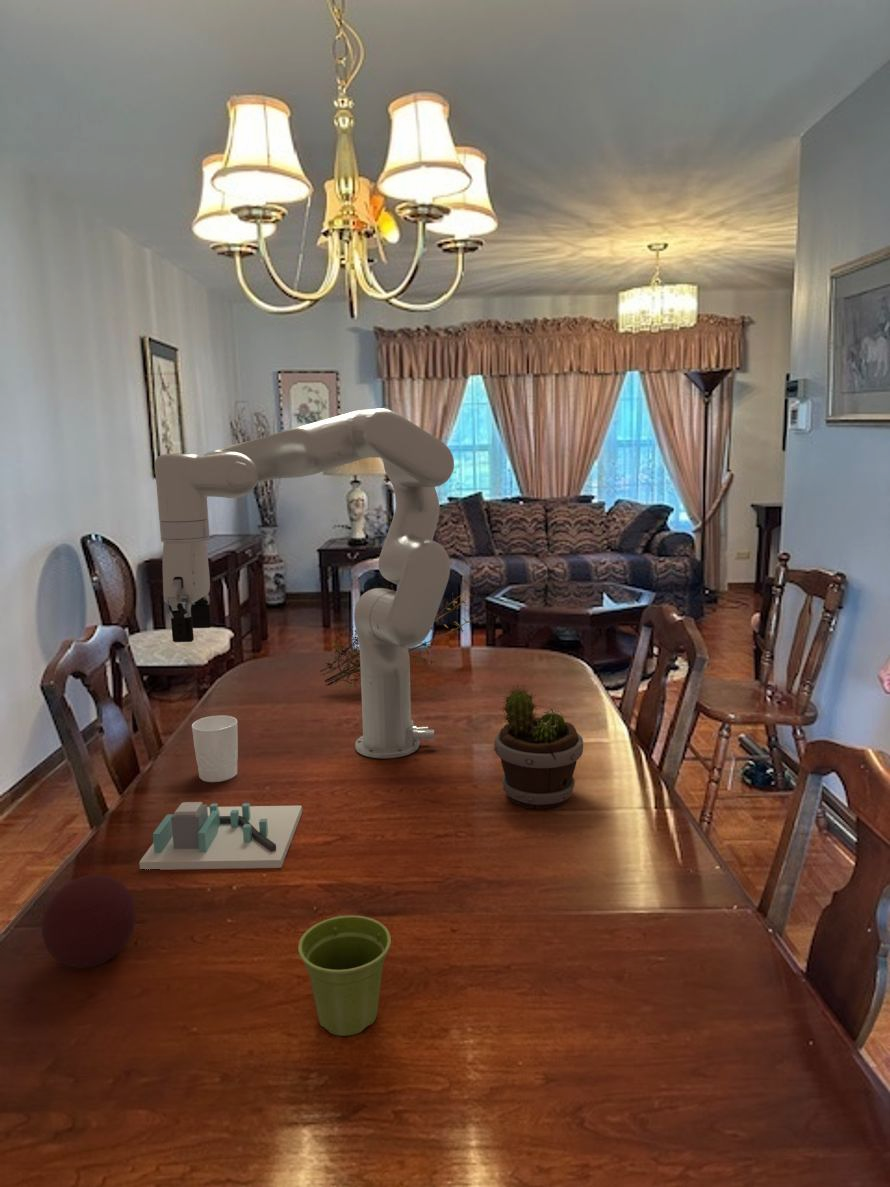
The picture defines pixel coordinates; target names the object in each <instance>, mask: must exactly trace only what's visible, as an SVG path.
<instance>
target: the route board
mask: <svg viewBox="0 0 890 1187" xmlns="http://www.w3.org/2000/svg"><path fill="white" fill-rule="evenodd" d="M207 810H208V816H209V815H210V806H207ZM232 810H238V812H239V816H241V817H243V816H242V805H241V806H218V811H219V814H220V816H230V813H231V811H232ZM250 814H251V818H250V820H247V821H248V822H249V823H250V824H251V825H252V826H253V827H254V828H255V829H256V830H257V831H258V832H260V829H259V821H260V819H267V824H268V835H267V837H266V838H268V839H269V840H270V841H272V842H273V843H275V844H276V851H273V852H270V851H269V850H268V849H266V848H265V847H264V846H263V845H261V844H260V843H259V842H257V841H256V840H255V839H253V838H252V840H251V842H244V839H243V827H242V826H241V825H240V824H239V826H238V827H237V828H231V824H220V826H219V828H218V833H217V835H216V836H215V838H214V840H213V842H212V843H211V845H210V847H209V849H208V850H207V852H199V849H174V845H173V837H172V838H171V840H170V841H169V843H168V844H167V846H166V847H165V848H164V850H163V851H162V853H154V842H153V843H152V844H151V845H150V847H149V848H148V850H147V851H146V852H145V854H143V856H142V858H141V859H140V861H139V862H138V864H139V870H140V869H145V870H144V871H148V869H149V871H151V870H150V869H160V870H161V871H162V870H164V871H165V870H172V871H173V870H220V869H221V870H225V869H226V870H228V869H230V870H232V869H236V870H237V869H279V868H280V869H282V866H283V864H284V862H285V858H286V855H287V854H288V851H289V848H290V845H291V843H292V841H293V838H294V835H295V833H296V830H297V827H298V825H299V821H300V819H301V817H302V814H303V805H258V806H257V805H254V806H253V805H250ZM146 869H147V870H146Z"/></svg>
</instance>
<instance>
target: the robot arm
mask: <svg viewBox="0 0 890 1187" xmlns="http://www.w3.org/2000/svg"><path fill="white" fill-rule="evenodd" d="M367 458H380V459H382V460H383V469H384V472H385V474H386V476H387V478H388V479H389V481H390V483H391V485H392V489H393V491H394V494H395V499H396V500H395V503H396V504H395V509H394V514H393V517H392V521H391V523H390V525H389V529H388V532H387V534H386V537H385V540H384V543H383V545H382V547H381V552H380V555H379V558H378V570H379V572H380V574H381V576H382V578H384V579H385V580H387V581H388V582H391V583H392V584H395V585H397V588H396V590H394V589H393V590H392V589H389V588H383V587H379V588H378V587H376V588H375V587H374V588H372V589H369V590H367V591H366V592H364V593H363V594H361V596H360V597H359V598H358V599H357V602H356V603H355V604H356V605H355V607H354V613H353V614H354V615H353V620H354V627H355V630H356V632H355V633H357V635H356V637H357V638H358V643H359V644H358V647H359V648H358V651H359V650H360V655H359V656H360V658H359V659H360V660H359V662H360V666H361V669H360V670H361V671H360V675H361V677H360V678H361V679H360V681H361V682H360V686H361V687H360V689H361V716H362V720H361V721H362V735H361V736H360V737H359V738H357V739H356V741H355V746H354V747H355V751H356V752H357V753H359V754H360V755H361V756H365V757H368V758H372V759H395V758H401V757H405V756H408V755H411V754H413V753H414V752H416V751H417V750H418V749H419V747H420V740H426V741H428V740H429V741H433V740H435V730H434V729H429V726H420V727H419V726H418V727H417V725H414V719H412V714H411V713H412V711H411V710H412V708H411V707H412V706H411V704H412V703H411V702H412V701H411V700H412V699H411V683H410V681H411V672H410V671H411V663H410V656H409V655H410V653H409V652H410V651H409V648H410V649H412V648H415V647H417V646H420V644H421V643H424V641H426V640H425V639H426V638H428V636H429V634H430V632H431V628H432V627H433V626H434V623H435V621H434V620H435V619H437V617H436V616H437V615H438V611H439V609H440V607H441V606H440V605H441V603H442V599H443V597H444V594H445V591H446V588H447V585H448V582H449V578H450V573H451V562H450V561H451V560H450V557H449V555H448V552H447V550H446V549H445V547H444V546H443V545H441V544H440V543H438V542H437V541H435V540H434V537H435V532H436V531H437V530H436V529H437V527H438V523H439V519H440V500H439V496H438V492H437V490H436V487H440V486H441V485H442V486H443V485H444V484H445V483H446V482H448V481H449V480H450V478H451V477H452V475H453V473H454V470H455V469H454V468H455V461H454V460H455V459H454V456H453V453H452V451H451V449H450V448H449V446H447V444H446V443H444V442H443V441H442V440H441V439H440V438H438V437H436V436H434V435H433V434H431V433H429V432H428V431H426V430H424V429H423V428H421V427H420V426H418V425H417V424H415V423H413V422H412V421H411V420H408V419H407V418H405V417H404V416H402V415H400V414H399V413H397V412H394V411H393V410H390V409H388V408H382V407H380V408H369V409H368V408H367V409H366V408H365V409H358V410H354V411H353V410H352V411H350V412H347V413H342V414H340V415H336V416H332V417H328V418H325V419H322V420H319V421H314V422H311V423H307V424H303V425H299V426H296V427H293V428H288V429H286V430H282V431H278V432H276V433H273V434H270V435H267V436H262V437H258V438H255V439H251V440H248V441H244V442H240V443H239V442H238V443H237V444H232V445H228V446H226V447H222V448H219V449H215V450H211V451H209V452H207V453H205V454H203V455H199V454H197V453H165V454H161V455H158V456H157V457H156V459H155V461H154V472H155V483H156V485H155V487H156V496H157V507H158V508H157V509H158V518H159V519H158V520H159V522H158V523H159V531H160V534H159V535H160V541H161V542H162V543H163V545H162V546H163V547H162V585H163V586H162V587H163V588H162V589H163V601H164V602H165V603H166V604H168V610H169V611H170V612H169V617H170V624H171V635H172V636H171V638H172V641H173V642H174V643H192V642H193V641H194V638H195V636H194V629H209V628H211V627H212V626H213V625H212V614H211V611H212V610H211V604H210V603H211V598H210V596H209V593H210V590H211V580H210V579H211V578H210V577H211V576H210V567H209V566H210V565H209V558H208V550H207V543H206V542H207V541H209V540H211V537H210V536H211V535H210V524H209V513H208V512H209V511H208V508H209V507H208V497H214V498H225V499H226V498H227V499H237V498H242V497H244V496H245V497H246V496H247V495H248V494H250V493H251V492H252V491H253V490H254V489H255V487H256V486H257V484H259V483H263V482H268V481H272V480H277V479H278V480H279V479H290V478H291V479H292V478H295V479H296V478H303V477H308V476H313V475H316V474H319V473H322V472H325V471H329V470H331V469H335V468H337V467H340V466H344V465H347V464H351V463H354V462H358V461H360V460H363V459H364V460H365V459H367ZM408 651H409V652H408Z"/></svg>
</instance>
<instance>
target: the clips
mask: <svg viewBox="0 0 890 1187" xmlns="http://www.w3.org/2000/svg"><path fill="white" fill-rule="evenodd" d="M241 806H242V816H243V817H244V818H245V819H246V820H250V818H251V814H250V806H251V804H250V802H246V803H242V805H241ZM209 807H210V814H217V825H218V828H219V826H220V814H219V811H218V807H219V805H218V803H210V805H209ZM230 817H231V828H237V827H238V826H239V812H238V810H232V811H231V813H230ZM259 829H260V833H261V834H262V835H264V836H265V837H267V835H268V824H267V819H260V821H259ZM243 839H244V842H251V840H252V830H251V824H244V826H243Z"/></svg>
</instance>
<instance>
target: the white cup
mask: <svg viewBox="0 0 890 1187" xmlns="http://www.w3.org/2000/svg"><path fill="white" fill-rule="evenodd" d="M191 730H192V737H193V746H194V753H195V759H196V763H197V769H198V771H197V772H198V777H199V779H200V780H202V781H203V782H207V783H219V782H226V781H228V780H231V779H233V778H234V777H235V776H237V775H238V759H239V755H238V753H239V745H238V744H239V743H238V742H239V741H238V740H239V739H238V738H239V737H238V735H239V734H238V733H239V732H238V719H237V718H236V717H234V716H231V715H220V714H219V715H211V716H206V717H201V718H199V719H197V720H195V721H194V722H193V723H192V724H191Z"/></svg>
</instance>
